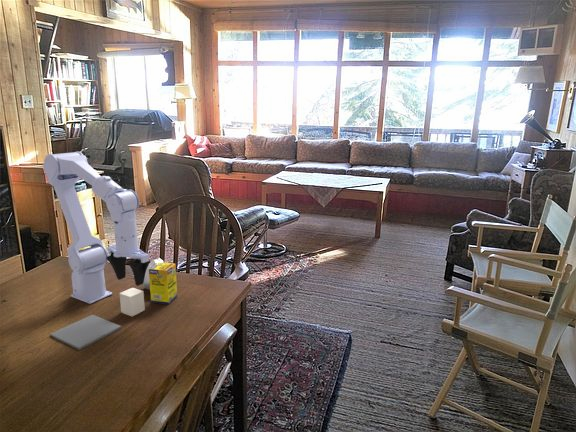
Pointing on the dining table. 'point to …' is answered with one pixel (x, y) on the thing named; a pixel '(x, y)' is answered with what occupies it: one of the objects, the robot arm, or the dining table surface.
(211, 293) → the dining table surface
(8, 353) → the dining table surface
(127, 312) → the cream block
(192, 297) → the dining table surface
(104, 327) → the gray mat
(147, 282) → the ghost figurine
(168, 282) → the supplement box
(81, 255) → the robot arm
